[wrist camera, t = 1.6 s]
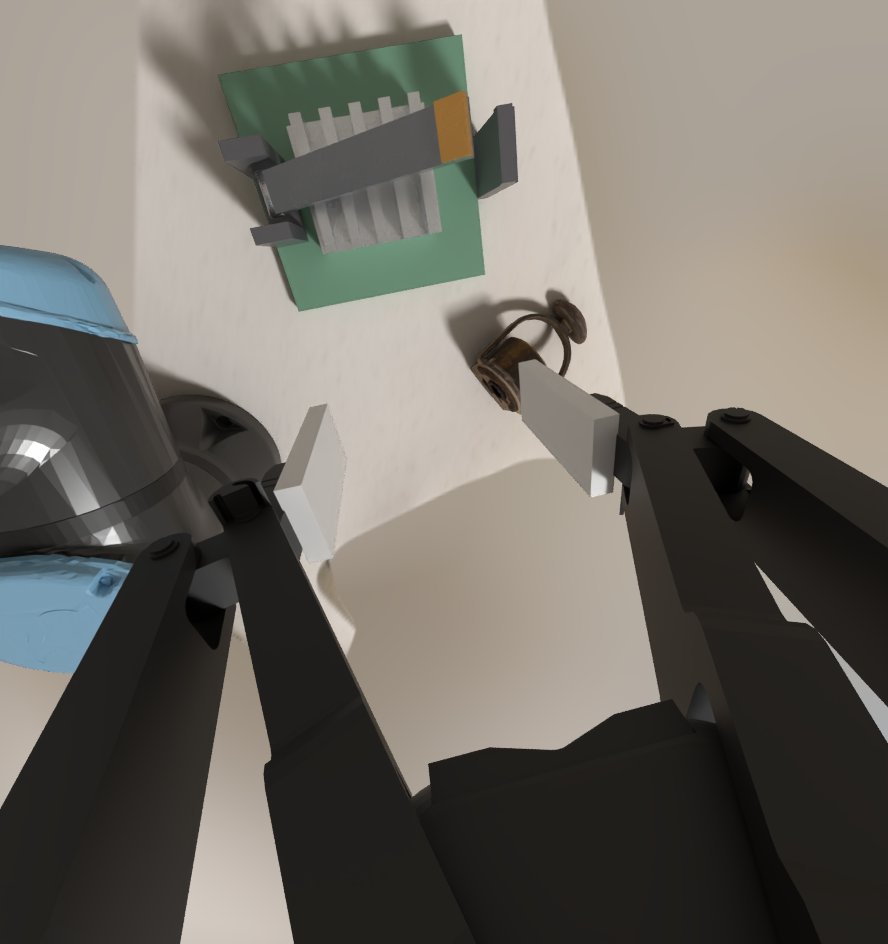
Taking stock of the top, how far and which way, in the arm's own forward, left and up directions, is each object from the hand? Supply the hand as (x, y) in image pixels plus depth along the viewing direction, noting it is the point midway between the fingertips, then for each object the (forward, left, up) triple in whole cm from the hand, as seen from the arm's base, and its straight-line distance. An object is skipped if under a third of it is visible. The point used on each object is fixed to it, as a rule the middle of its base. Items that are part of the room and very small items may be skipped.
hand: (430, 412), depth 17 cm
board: (0, +11, -25) cm, 28 cm away
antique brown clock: (+13, -6, -26) cm, 29 cm away
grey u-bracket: (-7, +11, -24) cm, 28 cm away
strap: (-1, +11, -14) cm, 18 cm away
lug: (+10, +11, -25) cm, 29 cm away
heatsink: (0, +11, -24) cm, 27 cm away
